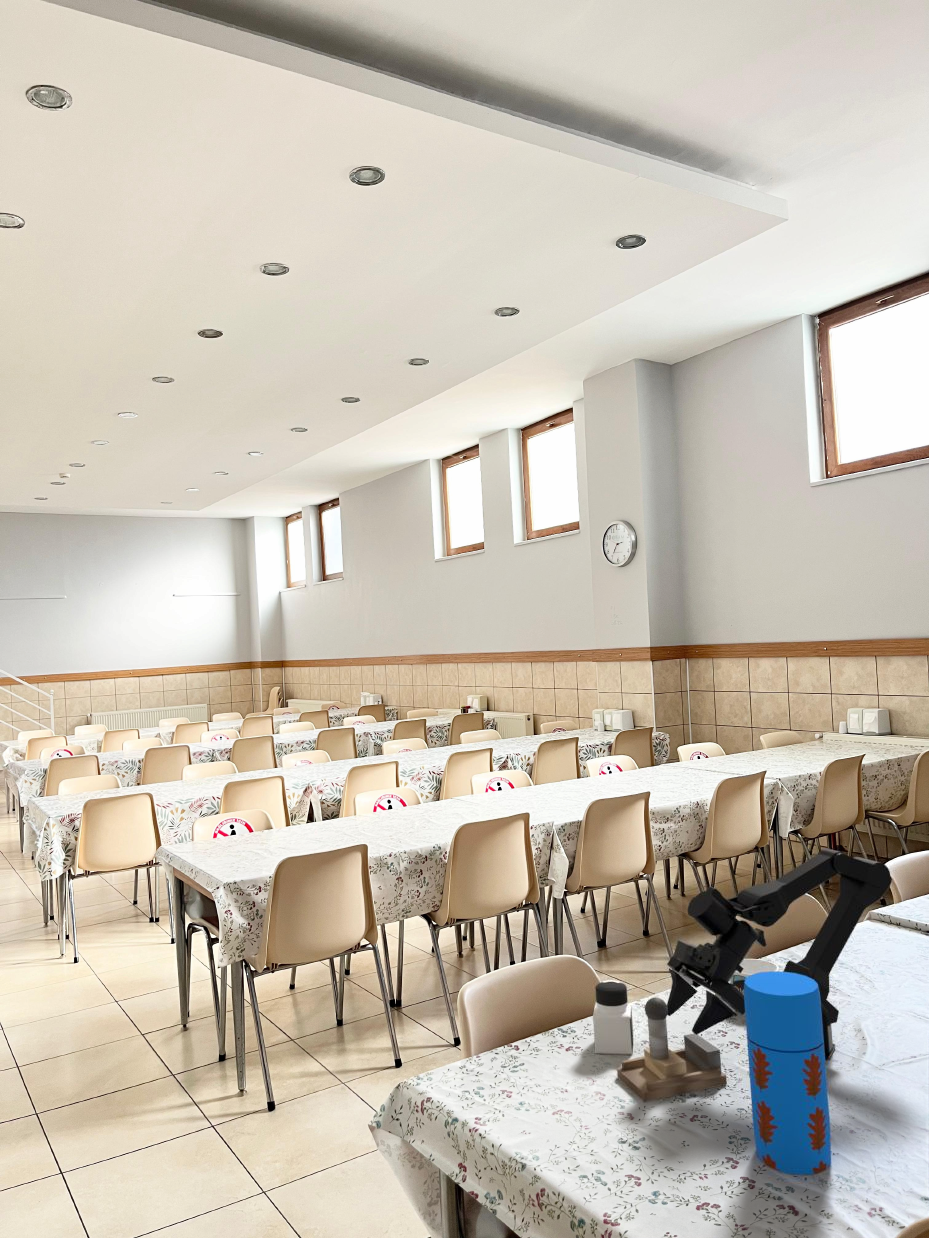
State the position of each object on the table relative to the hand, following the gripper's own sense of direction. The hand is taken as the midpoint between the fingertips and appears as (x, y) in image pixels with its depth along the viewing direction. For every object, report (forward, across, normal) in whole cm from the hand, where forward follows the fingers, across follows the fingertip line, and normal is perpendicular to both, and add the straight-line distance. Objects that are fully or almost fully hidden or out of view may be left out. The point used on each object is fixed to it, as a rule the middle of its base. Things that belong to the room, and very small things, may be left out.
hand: (680, 1023), depth 161 cm
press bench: (+9, 0, +4) cm, 10 cm away
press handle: (+8, 0, +3) cm, 9 cm away
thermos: (+6, +28, +8) cm, 30 cm away
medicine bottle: (+10, -17, +3) cm, 20 cm away
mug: (-14, -25, +29) cm, 40 cm away
